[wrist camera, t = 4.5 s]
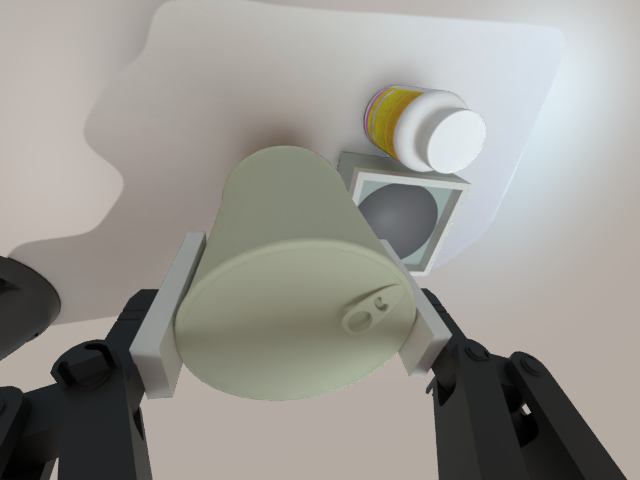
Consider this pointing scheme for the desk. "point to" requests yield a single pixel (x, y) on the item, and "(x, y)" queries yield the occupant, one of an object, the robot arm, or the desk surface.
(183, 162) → the desk surface
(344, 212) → the can
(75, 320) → the desk surface
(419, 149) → the supplement bottle
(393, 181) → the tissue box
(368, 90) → the desk surface
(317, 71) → the desk surface
